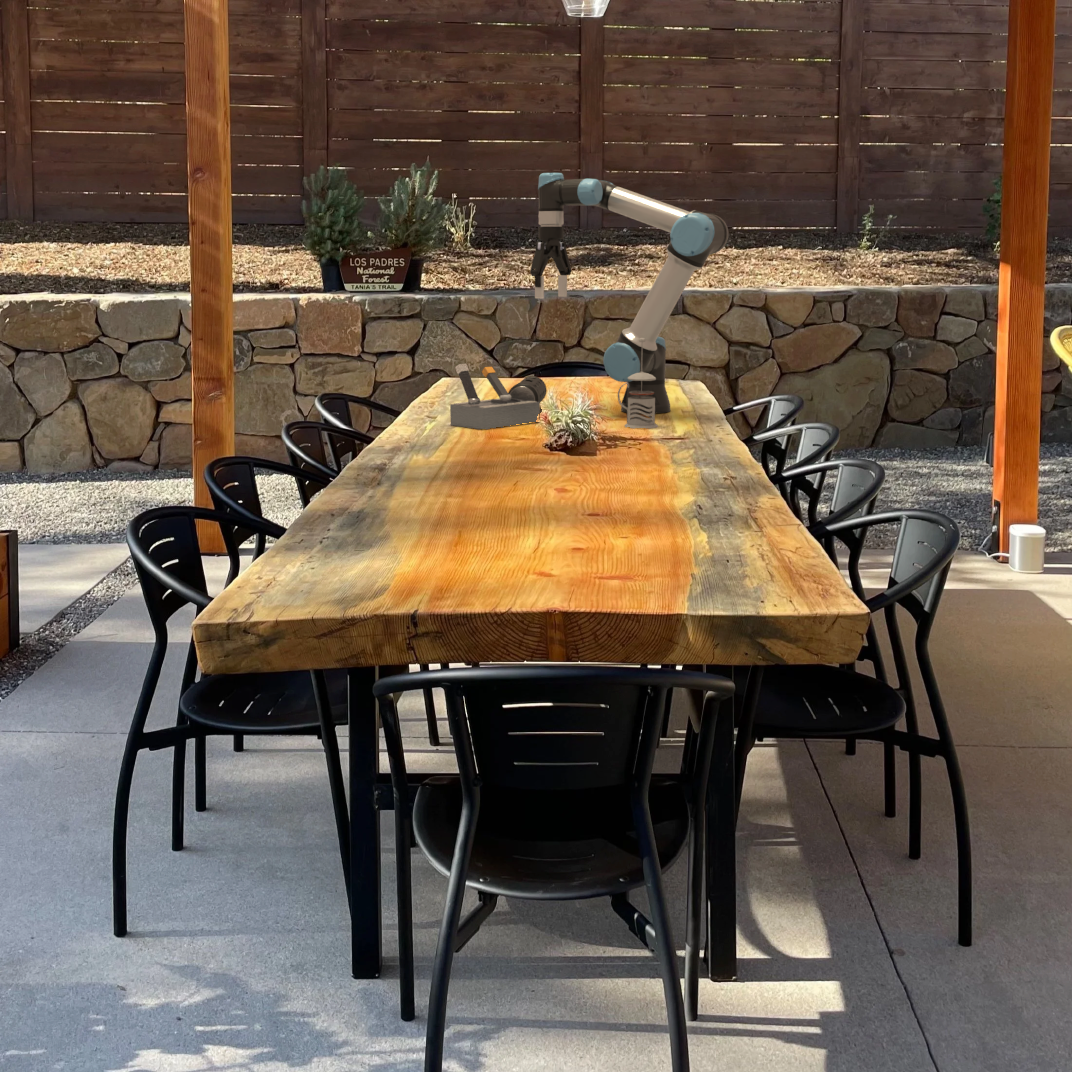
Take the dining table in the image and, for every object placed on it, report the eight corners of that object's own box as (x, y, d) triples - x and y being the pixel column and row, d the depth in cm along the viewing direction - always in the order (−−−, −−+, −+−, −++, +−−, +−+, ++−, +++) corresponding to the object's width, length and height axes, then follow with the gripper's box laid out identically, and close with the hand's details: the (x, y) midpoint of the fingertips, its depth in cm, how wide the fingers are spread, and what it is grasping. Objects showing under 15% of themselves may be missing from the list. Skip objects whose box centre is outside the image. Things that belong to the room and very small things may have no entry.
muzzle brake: (547, 407, 432) (547, 375, 430) (537, 419, 405) (537, 384, 402) (517, 407, 433) (517, 374, 431) (505, 418, 406) (505, 384, 403)
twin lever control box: (507, 418, 405) (506, 359, 402) (539, 422, 396) (539, 362, 392) (450, 425, 391) (449, 364, 387) (482, 429, 381) (481, 367, 377)
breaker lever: (509, 402, 396) (489, 371, 400) (512, 397, 394) (492, 366, 399) (501, 402, 394) (481, 371, 398) (504, 398, 392) (484, 367, 397)
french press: (656, 429, 381) (657, 339, 376) (615, 428, 383) (615, 338, 378) (660, 424, 390) (661, 336, 385) (620, 423, 393) (620, 336, 387)
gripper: (561, 226, 421) (561, 295, 426) (518, 225, 401) (518, 298, 405) (582, 226, 418) (582, 296, 422) (539, 225, 397) (540, 299, 401)
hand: (551, 297), depth 414 cm, fingers open, 13 cm apart
